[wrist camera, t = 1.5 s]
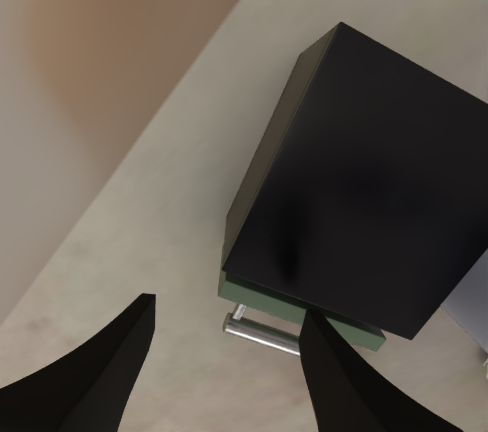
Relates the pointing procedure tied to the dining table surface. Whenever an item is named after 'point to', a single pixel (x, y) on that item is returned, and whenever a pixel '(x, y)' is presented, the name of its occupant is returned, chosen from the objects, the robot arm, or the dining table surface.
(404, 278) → the drawer cabinet
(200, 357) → the dining table surface
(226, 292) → the green drawer
